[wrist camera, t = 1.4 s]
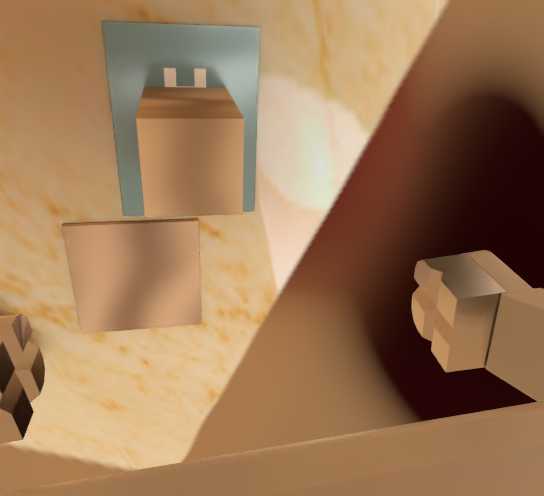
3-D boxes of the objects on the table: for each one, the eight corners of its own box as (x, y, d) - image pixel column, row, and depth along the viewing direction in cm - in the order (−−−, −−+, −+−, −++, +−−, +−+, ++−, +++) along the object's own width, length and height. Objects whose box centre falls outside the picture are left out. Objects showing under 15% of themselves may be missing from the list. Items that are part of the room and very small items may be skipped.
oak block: (149, 166, 31) (144, 217, 24) (143, 86, 29) (136, 118, 22) (226, 164, 32) (242, 213, 25) (226, 87, 30) (244, 118, 23)
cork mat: (82, 330, 36) (81, 333, 36) (62, 223, 32) (61, 226, 32) (201, 320, 38) (201, 324, 38) (197, 218, 34) (198, 221, 33)
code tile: (123, 214, 33) (123, 216, 32) (102, 21, 27) (101, 21, 27) (253, 210, 34) (254, 211, 34) (259, 27, 29) (259, 27, 28)
